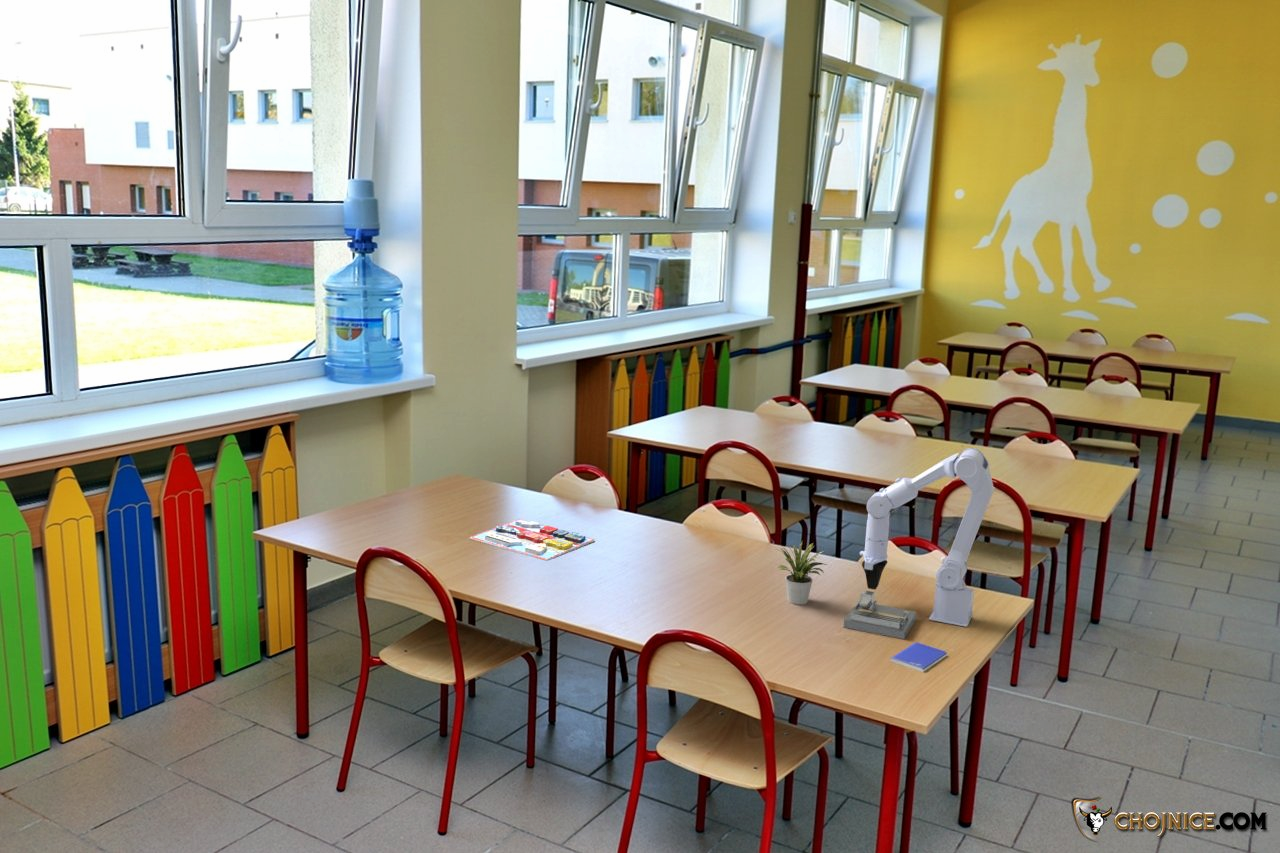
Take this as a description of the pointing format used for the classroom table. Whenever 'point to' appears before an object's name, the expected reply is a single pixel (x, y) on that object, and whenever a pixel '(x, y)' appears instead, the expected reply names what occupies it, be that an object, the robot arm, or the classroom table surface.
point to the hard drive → (919, 657)
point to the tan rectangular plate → (879, 613)
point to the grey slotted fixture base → (880, 620)
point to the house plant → (800, 575)
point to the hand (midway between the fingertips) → (872, 587)
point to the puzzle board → (532, 539)
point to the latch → (867, 598)
